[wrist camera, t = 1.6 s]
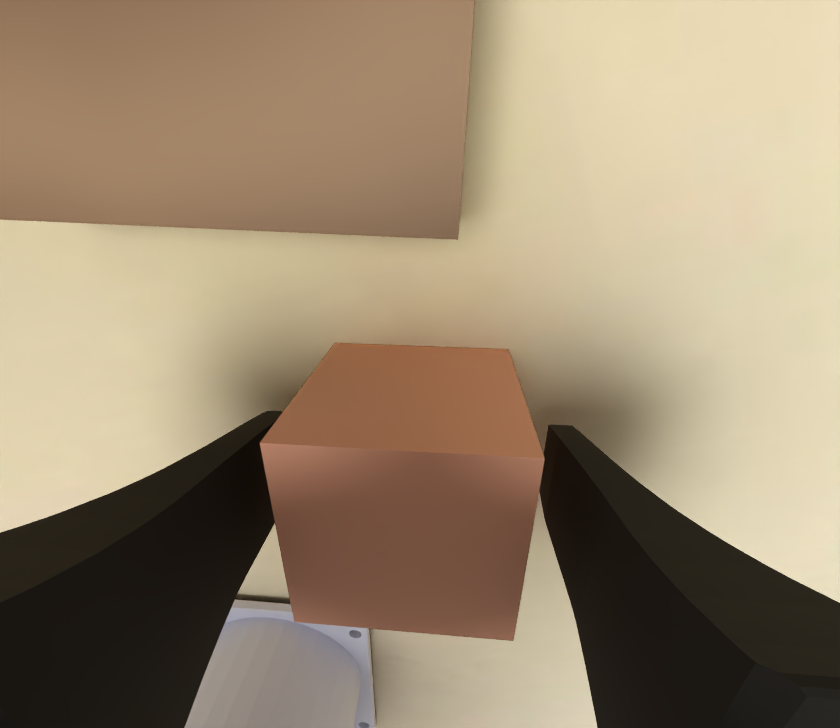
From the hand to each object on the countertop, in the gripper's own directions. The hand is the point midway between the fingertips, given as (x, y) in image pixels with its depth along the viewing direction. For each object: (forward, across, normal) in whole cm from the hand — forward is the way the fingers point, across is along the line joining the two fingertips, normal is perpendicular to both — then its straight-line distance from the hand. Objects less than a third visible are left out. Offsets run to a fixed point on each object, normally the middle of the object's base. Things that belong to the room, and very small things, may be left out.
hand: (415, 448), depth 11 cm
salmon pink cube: (+2, 0, 0) cm, 2 cm away
